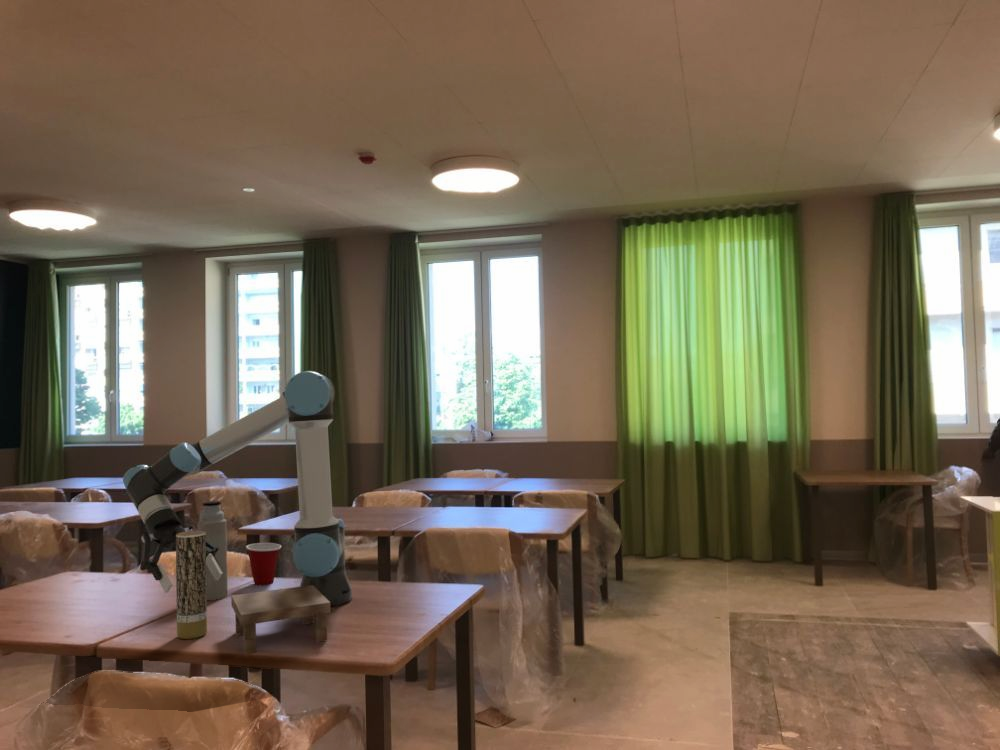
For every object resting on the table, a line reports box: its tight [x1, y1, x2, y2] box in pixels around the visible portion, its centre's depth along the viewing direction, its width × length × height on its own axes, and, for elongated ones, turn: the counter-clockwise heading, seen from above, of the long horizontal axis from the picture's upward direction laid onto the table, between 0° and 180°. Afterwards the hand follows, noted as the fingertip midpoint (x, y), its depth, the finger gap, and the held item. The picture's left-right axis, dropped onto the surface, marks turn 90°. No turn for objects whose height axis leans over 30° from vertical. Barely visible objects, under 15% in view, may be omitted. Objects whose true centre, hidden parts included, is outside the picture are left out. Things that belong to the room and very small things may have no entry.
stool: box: [230, 585, 331, 655], centre depth 182 cm, size 20×20×9 cm
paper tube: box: [175, 530, 208, 640], centre depth 185 cm, size 7×7×25 cm
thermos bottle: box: [197, 500, 229, 601], centre depth 223 cm, size 8×8×28 cm
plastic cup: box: [245, 542, 282, 586], centre depth 238 cm, size 11×11×12 cm
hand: (194, 582), depth 184 cm, fingers open, 13 cm apart
